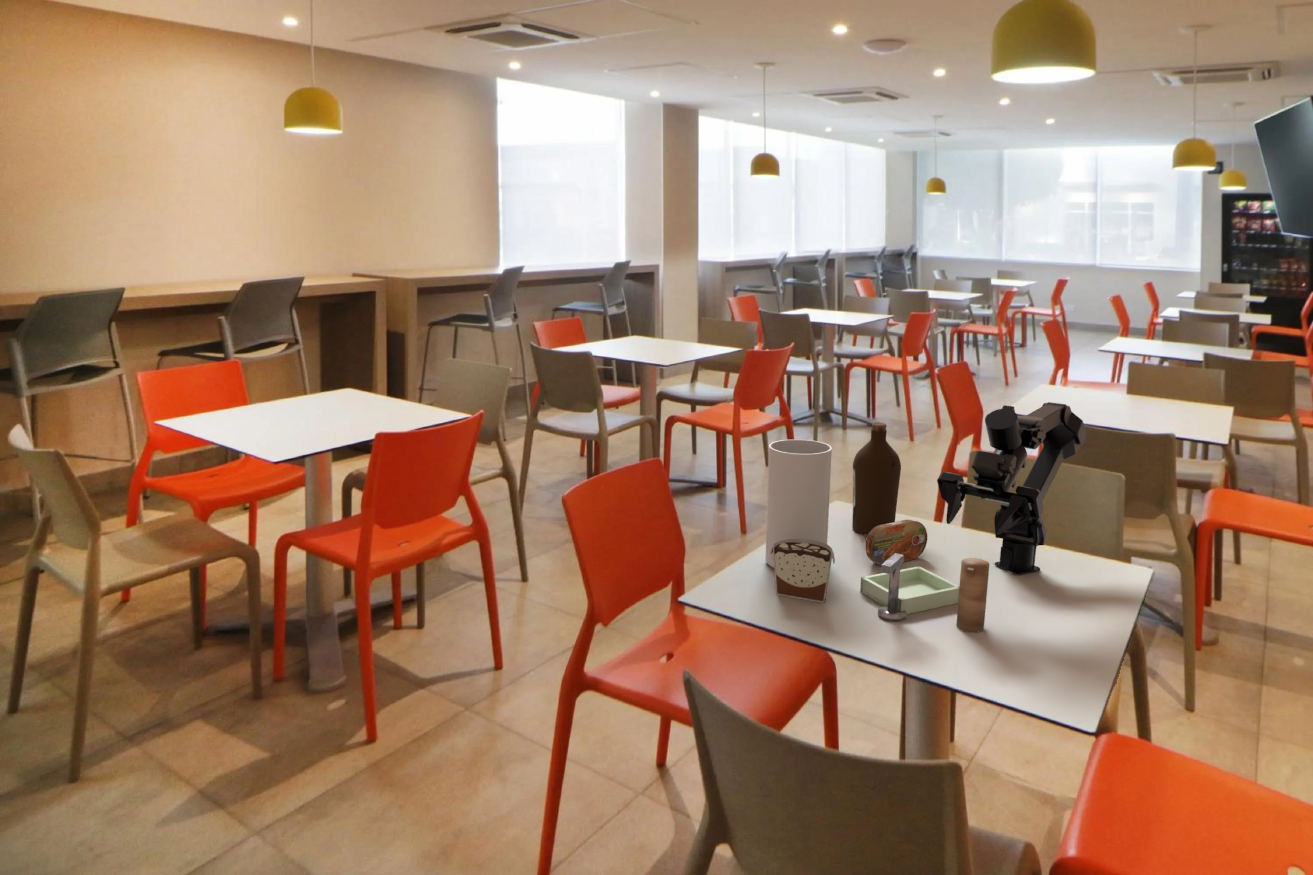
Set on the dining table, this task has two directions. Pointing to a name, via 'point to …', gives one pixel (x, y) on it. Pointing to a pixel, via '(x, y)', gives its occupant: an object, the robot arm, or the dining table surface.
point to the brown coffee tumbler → (972, 595)
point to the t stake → (892, 589)
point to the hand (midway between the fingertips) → (971, 527)
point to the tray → (912, 590)
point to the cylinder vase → (797, 492)
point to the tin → (896, 541)
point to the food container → (802, 568)
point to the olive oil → (875, 482)
